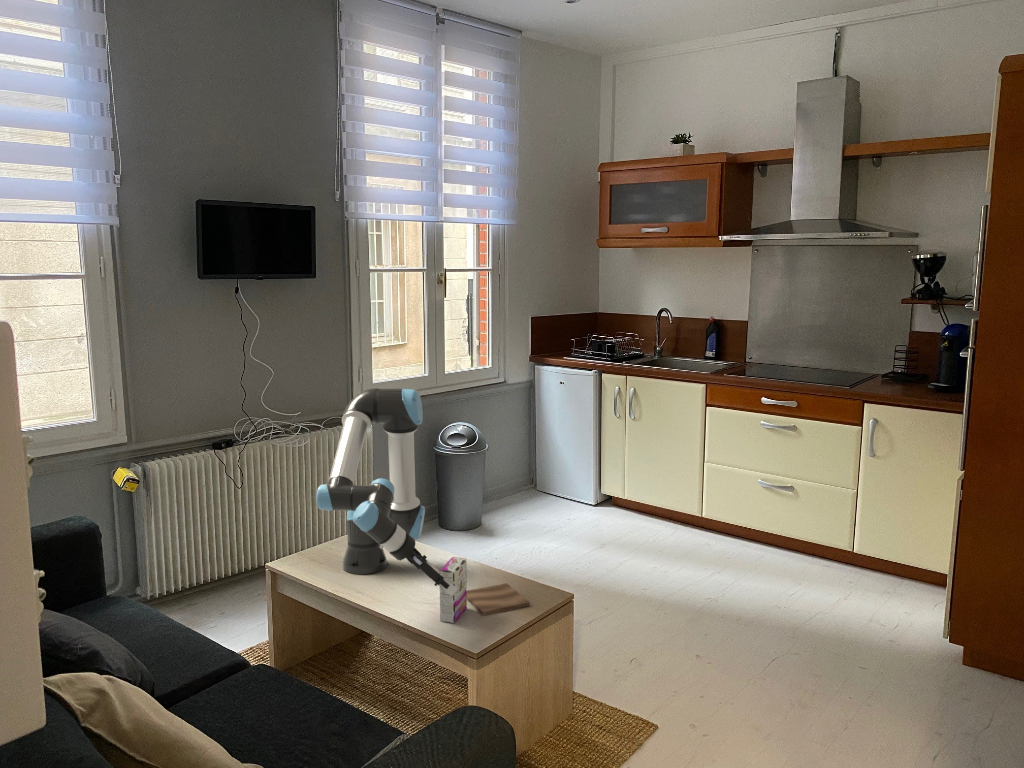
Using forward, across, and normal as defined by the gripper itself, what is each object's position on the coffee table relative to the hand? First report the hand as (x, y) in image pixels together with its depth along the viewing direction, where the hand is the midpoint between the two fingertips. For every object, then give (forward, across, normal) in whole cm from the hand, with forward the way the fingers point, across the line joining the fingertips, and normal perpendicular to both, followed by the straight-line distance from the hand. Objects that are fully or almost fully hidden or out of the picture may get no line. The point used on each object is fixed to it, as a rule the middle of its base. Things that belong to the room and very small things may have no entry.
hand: (445, 583), depth 235 cm
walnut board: (+21, -5, +6) cm, 22 cm away
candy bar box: (+10, -1, -6) cm, 12 cm away
